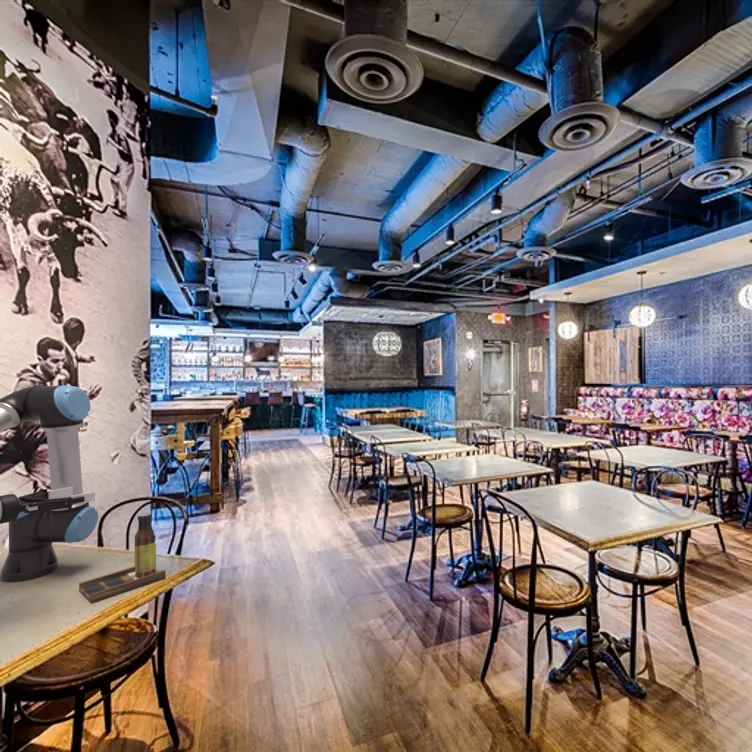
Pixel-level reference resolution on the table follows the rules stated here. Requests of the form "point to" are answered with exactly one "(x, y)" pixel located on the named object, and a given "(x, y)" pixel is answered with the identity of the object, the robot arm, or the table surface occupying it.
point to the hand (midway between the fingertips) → (83, 493)
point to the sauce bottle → (145, 547)
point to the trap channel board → (116, 584)
